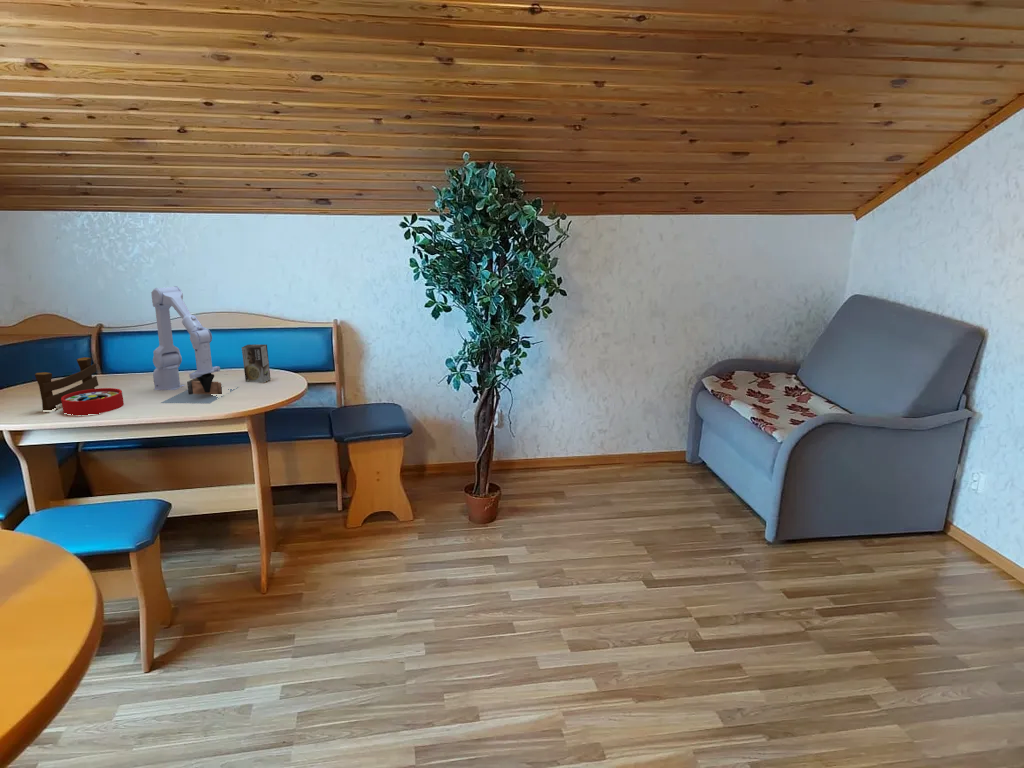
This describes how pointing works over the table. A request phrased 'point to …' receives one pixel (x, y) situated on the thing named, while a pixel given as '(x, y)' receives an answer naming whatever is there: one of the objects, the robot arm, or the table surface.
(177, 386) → the robot arm
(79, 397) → the toy clock
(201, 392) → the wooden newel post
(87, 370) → the decorative fence
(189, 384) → the dark brown wooden bar
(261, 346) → the coffee box
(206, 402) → the board
